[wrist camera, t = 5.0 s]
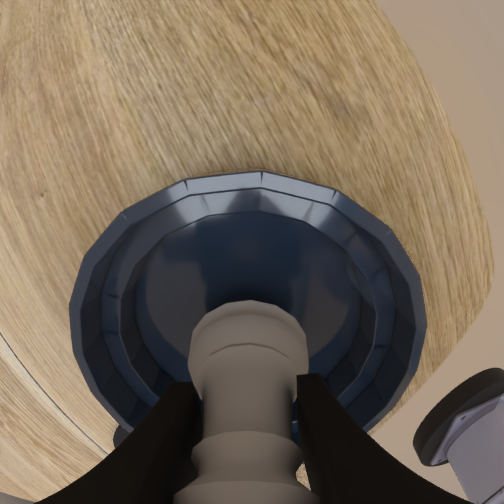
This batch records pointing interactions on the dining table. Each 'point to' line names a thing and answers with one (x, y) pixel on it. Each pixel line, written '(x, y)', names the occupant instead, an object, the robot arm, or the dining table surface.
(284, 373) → the rook chess piece
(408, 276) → the bowl
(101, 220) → the dining table surface
